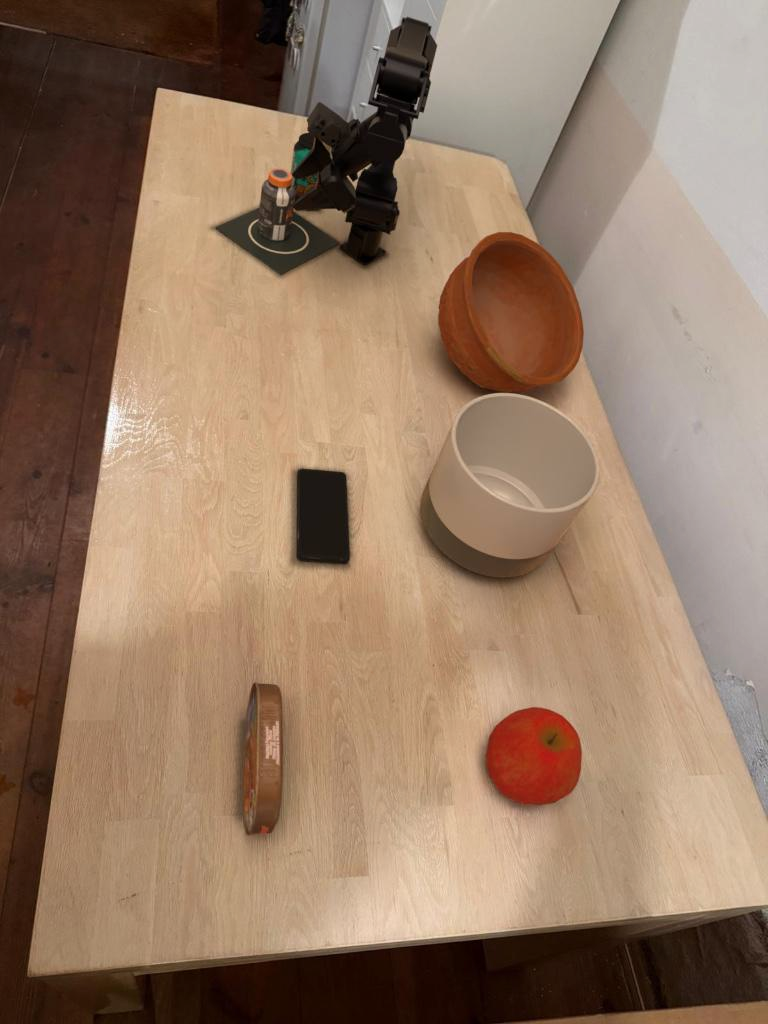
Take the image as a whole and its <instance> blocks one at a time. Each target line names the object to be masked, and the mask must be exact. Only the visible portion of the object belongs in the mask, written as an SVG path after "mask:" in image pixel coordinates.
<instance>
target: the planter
mask: <svg viewBox="0 0 768 1024" xmlns="http://www.w3.org/2000/svg"><path fill="white" fill-rule="evenodd" d="M599 459H600V458H599V455H598V454H597V451H596V449H595V446H594V444H593V442H592V440H591V439H590V438H589V436H588V435H587V433H586V432H585V431H584V430H583V429H582V427H580V425H578V424H577V422H575V421H574V420H573V418H571V417H570V416H569V415H567V414H566V413H564V412H563V411H562V410H560V409H558V408H556V407H555V406H553V405H551V404H549V403H547V402H545V401H543V400H540V399H537V398H536V397H532V396H528V395H525V394H519V393H514V392H495V393H487V394H484V395H480V396H477V397H474V398H473V399H471V400H470V401H468V402H467V403H465V404H464V405H463V406H462V407H461V408H460V409H459V410H458V411H457V413H456V414H455V416H454V418H453V421H452V423H451V426H450V427H449V431H448V433H447V435H446V437H445V439H444V442H443V444H442V447H441V449H440V451H439V453H438V456H437V458H436V460H435V463H434V465H433V467H432V470H431V472H430V474H429V477H428V479H427V481H426V484H425V486H424V488H423V490H422V494H421V498H420V515H421V520H422V523H423V525H424V528H425V531H426V533H427V534H428V536H429V538H430V539H431V541H432V542H433V543H434V545H435V546H436V547H437V548H438V549H439V551H440V552H442V553H443V554H444V555H445V556H446V557H447V558H448V559H450V560H451V561H452V562H454V563H456V564H457V565H459V566H460V567H463V568H464V569H466V570H469V571H471V572H474V573H476V574H478V575H483V576H487V577H492V578H514V577H519V576H523V575H526V574H528V573H530V572H532V571H534V570H536V569H537V568H539V567H540V566H541V565H542V564H543V563H545V561H546V560H547V559H548V557H549V556H550V555H551V553H552V552H553V551H554V549H555V548H556V546H557V545H558V543H559V542H560V541H561V539H562V538H563V536H564V535H565V534H566V533H567V531H568V530H569V528H570V527H571V526H572V524H573V523H574V522H575V520H576V519H577V518H578V516H579V514H580V513H581V512H582V510H583V509H584V508H585V506H586V505H587V503H588V502H589V501H590V499H591V498H592V497H593V495H594V493H595V492H596V490H597V488H598V485H599V483H600V478H601V464H600V460H599Z"/></svg>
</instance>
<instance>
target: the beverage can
mask: <svg viewBox="0 0 768 1024" xmlns="http://www.w3.org/2000/svg"><path fill="white" fill-rule="evenodd" d="M313 145H314V137H313V136H311V135H310V134H309V132H304V133H302V134H300V135H299V137H298V140H297V141H296V143H294V145H293V152H292V160H291V167H290V173H291V174H292V173H293V172H294V170H295V169H296V168H297V167H298V165H299V164H300V163H301V161H302V160H303V159H304V158H305V156H306V155H307V154H308V152H309V151H310V150H311V148H312V147H313ZM317 174H318V173H316V174H313V175H310V176H307V177H304V178H301V179H297V180H296V179H294V177H293V176H292V185H293V186H294V188H295V191H296V195H295V202H296V201H297V200H298V199H299V198H300V197H301V196H303V195H304V194H305V193H306V192H307V191H308V190H309V189H311V188H312V187H313V186H314V185H315V184H316V179H317ZM320 174H321V172H320Z"/></svg>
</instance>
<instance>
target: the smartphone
mask: <svg viewBox="0 0 768 1024" xmlns="http://www.w3.org/2000/svg"><path fill="white" fill-rule="evenodd" d="M347 485H348V484H347V475H346V472H343V471H336V470H335V471H334V470H325V469H324V470H323V469H313V468H312V469H311V468H299V469H298V470H297V472H296V558H297V560H299V561H300V562H301V561H302V562H314V563H315V562H318V563H333V564H334V563H335V564H347V563H348V562H349V561H350V560H351V558H350V557H351V556H350V552H351V551H350V532H349V506H348V486H347Z"/></svg>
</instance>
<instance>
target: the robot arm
mask: <svg viewBox="0 0 768 1024" xmlns="http://www.w3.org/2000/svg"><path fill="white" fill-rule="evenodd" d="M431 31H432V25H430V23H429V22H426V21H423V20H420V19H416V18H413V17H411V16H410V17H409V16H406V17H403V16H402V19H401V22H400V25H397V26H396V27H394V28H393V29H391V30H390V31H389V36H388V39H387V42H386V43H387V44H386V48H385V52H384V55H383V57H381V56H379V57H378V58H379V59H378V61H377V65H376V69H375V73H374V78H373V81H372V85H371V89H370V93H369V98H368V102H367V105H369V106H372V107H376V108H377V109H376V111H374V112H373V113H372V114H371V115H369V116H368V117H367V118H364V120H362V121H360V120H359V118H352V119H351V120H350V121H348V122H347V121H346V119H345V120H344V119H343V118H342V116H340V115H339V114H338V113H336V112H335V111H334V110H333V109H331V108H329V107H328V106H326V105H325V104H324V103H323V102H317V103H316V105H315V106H314V107H313V109H312V111H311V112H310V114H309V115H308V117H307V119H306V122H307V126H306V127H307V128H306V129H307V133H309V134H310V135H311V136H313V137H314V145H313V147H312V148H311V150H310V151H309V152H308V154H307V155H306V156H305V158H304V159H303V160H302V161H301V163H300V164H299V165H298V167H297V168H296V169H295V170H294V172H293V173H292V176H293V177H294V179H296V180H297V179H301V178H304V177H307V176H310V175H313V174H316V173H318V174H317V179H316V184H315V185H314V186H313V187H312V188H311V189H309V190H308V191H307V192H306V193H305V194H304V195H303V196H301V197H300V198H299V199H298V200H297V201H296V202H295V203H294V204H293V208H294V209H293V210H295V211H296V212H302V211H313V210H336V211H338V212H340V211H341V212H342V213H343V214H345V220H344V222H345V223H349V224H351V225H350V230H349V233H348V236H347V241H345V242H343V243H340V244H339V249H340V250H341V251H342V252H344V253H346V254H347V255H349V256H350V257H351V258H353V259H354V260H356V261H357V262H358V263H360V264H362V265H363V266H368V265H369V264H371V263H373V262H375V261H377V260H378V259H380V258H381V257H383V256H385V255H386V253H387V251H386V250H385V249H383V248H382V247H381V244H382V240H383V235H384V233H385V234H387V235H389V236H391V232H393V231H396V228H397V225H398V220H399V218H400V213H401V211H400V209H399V205H398V204H399V201H396V196H397V192H398V181H397V177H395V175H394V169H395V164H396V161H397V160H399V159H400V158H401V156H402V155H403V152H404V150H405V146H406V142H407V140H409V139H410V137H411V135H412V129H413V122H414V119H416V120H418V119H419V116H420V113H422V114H424V113H425V108H426V105H427V100H428V97H429V94H430V93H429V92H430V89H431V86H432V85H431V84H432V81H431V79H430V77H431V72H432V68H433V64H434V61H435V57H436V53H437V49H438V44H437V42H436V41H435V39H434V37H433V35H432V34H431ZM376 93H377V94H376ZM375 95H376V96H375ZM416 105H417V106H416ZM415 106H416V108H415ZM368 166H369V167H368ZM367 167H368V168H367ZM320 172H321V174H320ZM359 172H360V175H359ZM356 181H357V183H356V186H354V184H353V183H354V182H356Z"/></svg>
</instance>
